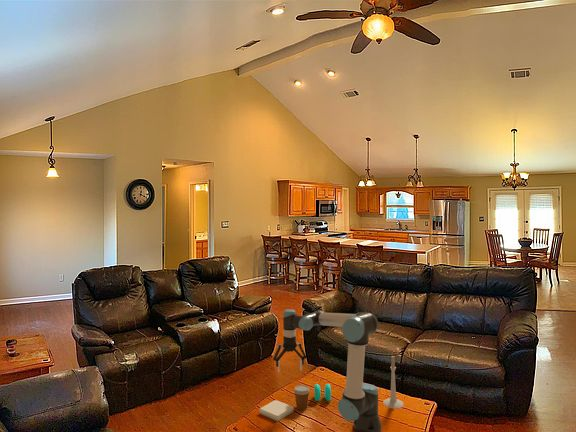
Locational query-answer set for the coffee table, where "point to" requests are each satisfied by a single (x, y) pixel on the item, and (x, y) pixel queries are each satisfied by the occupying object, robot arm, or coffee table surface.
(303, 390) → the disposable coffee cup
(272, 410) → the plinth
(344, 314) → the robot arm
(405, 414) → the coffee table surface
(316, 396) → the teal wheels on axle
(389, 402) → the candlestick
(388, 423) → the coffee table surface
